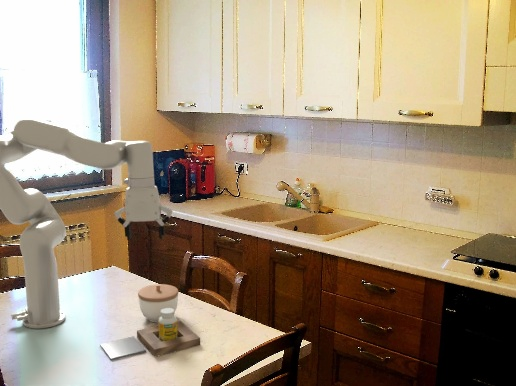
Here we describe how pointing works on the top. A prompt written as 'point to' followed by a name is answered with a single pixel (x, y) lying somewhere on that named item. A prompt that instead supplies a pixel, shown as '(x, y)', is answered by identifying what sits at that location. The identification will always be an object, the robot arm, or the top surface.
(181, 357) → the top surface
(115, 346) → the coaster
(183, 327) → the socket board
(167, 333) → the supplement bottle
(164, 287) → the lidded bowl
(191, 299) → the top surface
